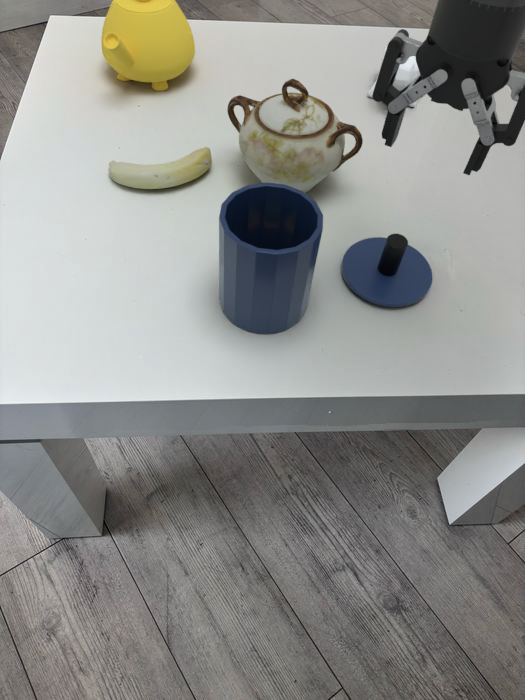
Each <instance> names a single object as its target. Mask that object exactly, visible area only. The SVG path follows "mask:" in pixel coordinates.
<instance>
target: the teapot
mask: <svg viewBox="0 0 525 700" xmlns="http://www.w3.org/2000/svg"><path fill="white" fill-rule="evenodd" d="M195 45H196V43H195V39H194V35H193V31H192V29H191V26H190V23H189V21H188V19H187V18H186V15H185V14H184V12H183V10H182V9H181V7H180V6H179V4H178V3H177V1H176V0H112V2H111V3H110V5H109V8H108V11H107V12H106V16H105V18H104V21H103V25H102V31H101V45H100V46H101V52H102V56H103V59H104V60H105V61H106V63H107V64H108V65H109V66H110V67H111V69H113V70H114V71H115V72H117V75H116V78H117V79H118V80H119V81H122V82H128V81H131V80H132V81H135V82H141V83H151V87H152V89H153V90H155V91H158V92H159V91H161V92H162V91H166V90H167V89H168V88H169V84H168V81H170V80H173V79H175V78H177V77H179V76H180V75H182V74H183V73H184V72H185V71H186V70H187V69H188V68H189V67H190V65H191V63H192V62H193V60H194V58H195V54H196V46H195Z"/></svg>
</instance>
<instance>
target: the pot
mask: <svg viewBox="0 0 525 700" xmlns="http://www.w3.org/2000/svg"><path fill="white" fill-rule="evenodd" d="M219 210H220V211H219V216H218V293H219V294H218V296H219V297H218V299H219V303H220V307H221V310H222V313H223V314H224V315H225V317H226V318H227V320H229V322H231V323H232V325H235V326H236V327H237V328H239V329H242V330H243V331H246V332H249V333H253V334H258V335H273V334H278V333H282V332H284V331H287V330H289V329H291V328H293V327H294V326H295V325H296V324H298V323H299V321H301V319H302V317H303V316H304V314H305V312H306V310H307V307H308V303H309V297H310V293H311V288H312V285H313V284H312V283H313V279H314V273H315V269H316V264H317V259H318V254H319V249H320V244H321V239H322V234H323V230H324V214H323V212H322V210H321V208H320V207H319V205H318V202H317V201H316V200H315V199H313V198H312V197H311V196H309V195H308V194H307V192H306V193H304V192H302V191H301V190H298V189H295V188H293V187H290V186H288V185H285V184H277V183H267V182H266V183H262V182H260V183H253V184H247V185H245V186H243V187H240V188H238V189H237V190H234V191H232V192H231V193H230V194H229V195H228V196H227V198H225V199H224V201H223V202H222V203H221V205H220V209H219Z"/></svg>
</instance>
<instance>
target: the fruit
mask: <svg viewBox="0 0 525 700" xmlns="http://www.w3.org/2000/svg"><path fill="white" fill-rule="evenodd" d="M212 160H213V159H212V152H211V149H210V147H207V146H206V147H202V148H198V149H195V150H193V151H192V152H190V153H189V154H187V155H185V156H184V157H182V158H179V159H176V160H173V161H169V162H165V163H164V162H163V163H157V164H137V163H131V162H126V161H115V160H110V161H109V163H108V173H109V176H110V179H112V181H114V182H115V183H117V184H119V185H121V186H125V187H129V188H132V189H133V188H134V189H141V190H159V189H167V188H173V187H177V186H180V185H183V184H186V183H189V182H191V181H193V180H195V179H198V178H199V177H201V176H203V174H205V173H206V172H207V171H208V170H209V169H210V168H211V167H212Z"/></svg>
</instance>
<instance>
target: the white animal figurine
mask: <svg viewBox="0 0 525 700" xmlns="http://www.w3.org/2000/svg"><path fill="white" fill-rule="evenodd" d="M386 49H387V46H385V47H384V50H383V54H382V55H383V56H382V60H381V64H380V68H379V71H378V73H377V77H376V78H378V75H379V72H380V69H381V66H382V62H383V59H384V56H385V53H386ZM419 75H420V72H419V69H418V66H417V63H416V56H411V57H409V59H408V60H407V61H406V62H405V63H404V64H400V65H399V68H398V71H397V74H396V77H395V80H394V83H393V86H394V87H395V88H397V89H398V90H399V91H400V90H401V89H402V88H404V87H405V86H407V85H408V84H409V83H411V82H412V81H413V80H414V79H415V78H416V77H417V76H419ZM376 82H377V79H376V80H375V82H373V84H372V86H371V88H370V89H369V91H368V93H367V97H368V98H371V99H373V91H374V88H375V85H376ZM416 106H417V101H416V102H414V103H412V104H409V105H408V107H410V108H415V107H416Z"/></svg>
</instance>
